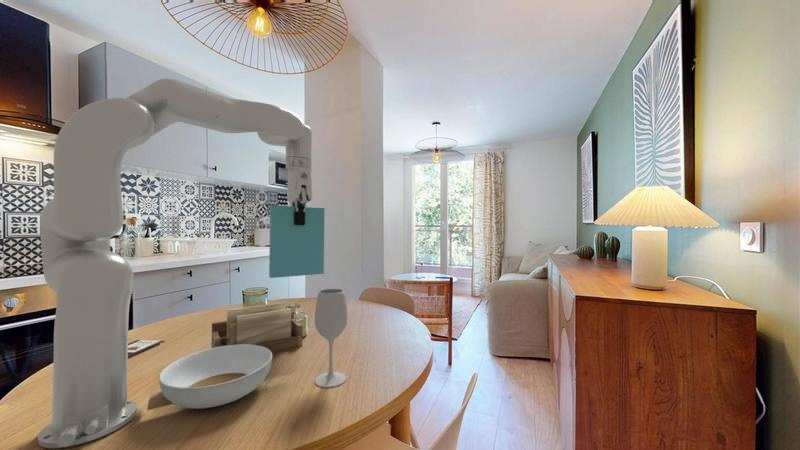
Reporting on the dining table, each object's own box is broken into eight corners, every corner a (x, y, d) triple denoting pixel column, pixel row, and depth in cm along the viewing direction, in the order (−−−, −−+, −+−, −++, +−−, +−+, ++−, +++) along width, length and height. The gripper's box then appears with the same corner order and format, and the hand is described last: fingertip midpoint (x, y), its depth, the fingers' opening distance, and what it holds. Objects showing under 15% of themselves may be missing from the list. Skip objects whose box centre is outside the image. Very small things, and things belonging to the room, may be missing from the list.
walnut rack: (302, 351, 89) (302, 318, 90) (214, 370, 77) (215, 332, 77) (292, 340, 98) (292, 311, 98) (211, 357, 85) (211, 322, 85)
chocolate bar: (73, 365, 78) (137, 340, 96) (73, 369, 78) (137, 343, 96) (106, 366, 78) (164, 340, 96) (106, 370, 78) (164, 344, 96)
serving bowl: (151, 394, 66) (152, 361, 66) (252, 364, 81) (253, 338, 81) (167, 441, 51) (168, 399, 51) (288, 394, 66) (288, 362, 66)
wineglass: (314, 390, 68) (314, 295, 68) (314, 374, 75) (314, 288, 75) (348, 385, 70) (349, 293, 70) (345, 370, 77) (345, 287, 77)
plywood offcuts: (290, 347, 88) (291, 303, 89) (227, 360, 79) (228, 312, 79) (287, 343, 91) (288, 301, 91) (226, 356, 82) (227, 309, 82)
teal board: (323, 273, 98) (324, 208, 98) (270, 278, 88) (271, 205, 89) (321, 273, 99) (322, 208, 100) (269, 277, 90) (270, 205, 90)
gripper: (319, 162, 90) (319, 225, 90) (302, 171, 103) (301, 225, 103) (294, 159, 86) (293, 224, 85) (279, 168, 99) (278, 225, 98)
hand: (298, 224), depth 94 cm, fingers closed on teal board, 2 cm apart
